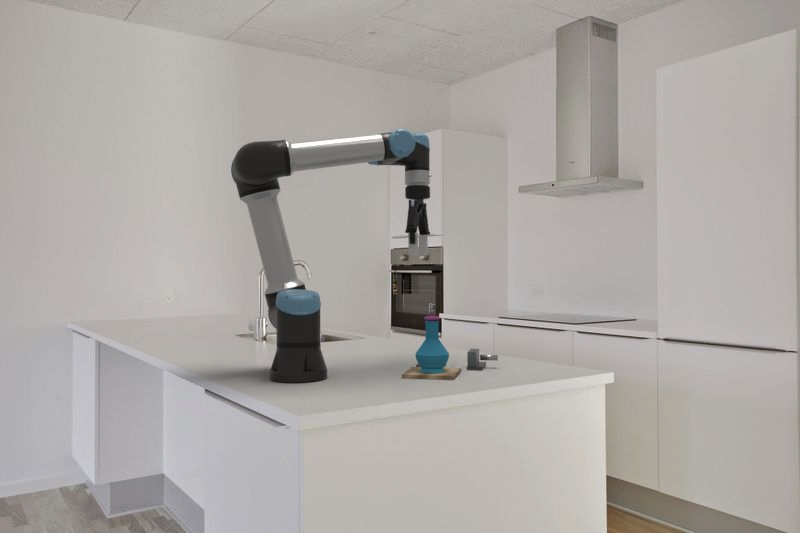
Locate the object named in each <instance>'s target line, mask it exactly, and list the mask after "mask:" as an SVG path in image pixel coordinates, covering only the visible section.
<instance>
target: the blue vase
mask: <svg viewBox="0 0 800 533" xmlns="http://www.w3.org/2000/svg"><path fill="white" fill-rule="evenodd" d="M440 319H441V317H440V316H439V315H425V317H424V318H423V320H425V321H424V323H425V339H424V341H423V342H422V344H421V345H420V346H419V348H418V349H417V350H416V352H415V359H416V362H417V364H418V365H419V366H420V367H421V369H420V371H421V372H424V373H440V372H444V368H446V366H447V363H448V360H449V357H450V353H449V352H448V349H447V348H446V347H445V345H443V343H442V342H441V340H440V339H439V336H440V335H439V331H440V330H439V324H440V323H439V322H440Z"/></svg>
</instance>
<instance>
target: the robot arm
mask: <svg viewBox="0 0 800 533" xmlns="http://www.w3.org/2000/svg"><path fill="white" fill-rule="evenodd" d="M430 151H431V149H430V139H429V137H428V135H427V134H425V133H412V132H411V131H410V130H408V129H405V128H399V129H396V130H394V131H392V132H391V131H390V132H383V133H374V134H373V133H371V134H362V135H353V136H345V137H344V136H343V137H336V138H325V139H316V140H305V141H296V142H289V141H288V140H287V139H281V140H278V139H277V140H262V141H252V142H248V143H246V144H243V146H241V147H240V148H239V149H238V150H237V152H236V154H235V156H234V157H233V160H232V162H231V165H230V173H231V179H232V180H233V181H234V183H235V185H236V186H235V187H236V190H237V193H238V197H239V200H240V201H242V202H243V203H245V204H246V205H247V209H248V214H249V218H250V221H251V226H252V229H253V233H254V237H255V240H256V244H257V248H258V252H259V255H260V260H261V263H262V267H263V271H264V276H265V279H266V282H267V283H266V284H267V288H266V289H265V291H264V297H265V300H266V301H265V302H266V304H267V305H266V306H267V308H268V310H267V317H268V320H269V322H270V324H271V325H272V327H274V328H275V330H276V351H275V354H274V357H273V360H272V364H271V367H270V370H269V374H270V375H269V376H270V378H269V379H270V380H271V381H274V382H277V383H308V382H310V383H311V382H316V381H322V380H325V379H327V378H328V368H327V364H326V362H325V359H324V358H325V357H324V355H323V352H322V349H321V306H322V302H321V297H320V294H319V293H318V292H317V291H314V290H309V289H307V288H306V284H305V282H303V281H302V280H301V279H299V278H298V275H297V271H296V267H295V264H294V259H293V256H292V252H291V247H290V243H289V240H288V235H287V232H286V229H285V224H284V219H283V217H282V212H281V208H280V205H279V201H278V196H279V193H280V192H281V186H280V183H279V179H280V178H283V177H291V176H292V175H293V174H294V172H302V171H308V170H309V171H311V170H316V169H324V168H332V167H340V166H348V165H349V166H350V165H356V164H364V163H366V164H368V165H373V166H374V165H375V166H399V167H402V166H404V185H406V186H405V192H404V193H405V194H404V196H405V197H404V198H405V199H406V200H408V208H407V218H406V219H407V220H406V228H405V231H404V232H405V233H406V234H408V236H407V237H408V256H419V257H427V256H429V254H428V253H429V250H428V249H429V248H428V247H429V244H428V243H429V242H428V236H430V235H431V231H430V229H429V220H428V212H427V202H425V203H424V200H427V199H428V200H429V199H430V198H431V187H430V184H431V182H430V180H431V179H430V178H431V177H432V173H430V157H431V156H430V153H431V152H430Z"/></svg>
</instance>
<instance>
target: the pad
mask: <svg viewBox="0 0 800 533" xmlns="http://www.w3.org/2000/svg"><path fill="white" fill-rule="evenodd" d="M420 369H421V367H416V366H411V367H410V368H409V369H407V370H406V371H405V372H403V373H402V374H401V379H411V380H413V379H416V380H418V379H419V380H443V381H444V380H446V381H454V380H456V378H457V377H458V376H459V375H460V374H461V372H462V368H461V367H444V372H440V373H424V372H421V371H420Z"/></svg>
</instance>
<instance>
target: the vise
mask: <svg viewBox="0 0 800 533" xmlns="http://www.w3.org/2000/svg"><path fill="white" fill-rule="evenodd" d="M466 353H467V357H466V358H467V361H466V362H467V366H466V371H483V370H484V369H485V367H486V366H487V362H486V361H496V362H497V361H498V360H499V355H498V354H480V348H469V350H467V352H466ZM415 367H420V366H419V365H418V363H417V364H416V365H415Z"/></svg>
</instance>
